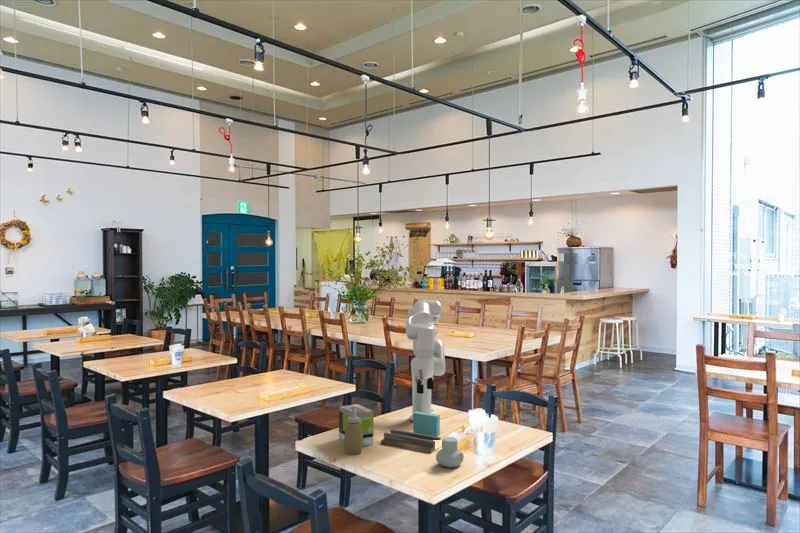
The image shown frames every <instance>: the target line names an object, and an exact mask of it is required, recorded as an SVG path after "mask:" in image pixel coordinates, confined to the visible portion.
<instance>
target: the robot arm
mask: <svg viewBox="0 0 800 533" xmlns="http://www.w3.org/2000/svg"><path fill="white" fill-rule="evenodd" d="M442 313H443V306H442V304H441V302H440V301H439V300H436V299H434V300H432V299H423V300H422V299H421V300H417V301H416V302H415V303H414V304H413V307H411V308H409V309H408V311H407V320H406V323H405V334H406V337H407V339H408V340H410V341H412V350H413V355H414V356H415V357H413V358H412V359H411V361H410V370H411V378H412V379H411V380H412V382H411V383H412V388H411V390H412V391H411V392H412V394H411V395H412V400H411V401H412V403H411V405H412V408H411V409H412V414H410V415H409V418H408V420H410V421H411V422H413V413H414V412H423V413H430V414H432V413H433V412H434V411H435V410H434V408H433V407H432V390H434V389H435V388H434V386H435V384H434V380H435V376H437V377H438V376H439V377H441V376H444V374H445V373H446V358H445V357H446V356H445V355H446V354H445V347H444V346H445V345H444V342H443V341H442V340H441V339H439V338H436V337H437V333H438V332H437V327H436V326H435V325H434V324H437V323H439V321H441V317H442Z"/></svg>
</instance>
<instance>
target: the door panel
mask: <svg viewBox="0 0 800 533" xmlns="http://www.w3.org/2000/svg"><path fill="white" fill-rule="evenodd" d="M440 415H441V414H436V413H435V414H434V413H431V414H430V413H423V412H414V413H413V421H412V433H418V434H424V435H430V436H435V437H438V436H440V435H441V433H440V432H441V431H440V430H441V427H440V426H441V421H440V420H441V418H440V417H441V416H440ZM440 437H441V436H440Z"/></svg>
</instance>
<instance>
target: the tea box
mask: <svg viewBox="0 0 800 533" xmlns="http://www.w3.org/2000/svg"><path fill="white" fill-rule="evenodd" d="M338 408H339V410H338V413H339V414H338V416H339V417H338V439H339V440H340V441H342V442H343V443H344V438H345V428H346V424H347V423H348V418H349V417H351V413H352V409H353V408H355V410H356V415H357V417H359V422H360V423H361V424H362V433H363V447H366V446H372V445H374V415H375V414H374V412H375V411H374V410H372V409H370V408H368V407H366V406H363V405H361V404H359V403H357V404H349V405H348V404H347V405H341V406H339V407H338Z"/></svg>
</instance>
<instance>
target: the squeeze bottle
mask: <svg viewBox="0 0 800 533" xmlns="http://www.w3.org/2000/svg"><path fill="white" fill-rule="evenodd" d="M343 445H344V448H345V452H346V454H348V455H352V456H353V455H359V454H361V452H362V449H363V447H364V446H363V433H362V424H361V423H360V422H359V417H357V415H356V410H355V408H353V409H352V413H351V417H349V418H348V423H347V424H346V428H345V438H344V442H343Z"/></svg>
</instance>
